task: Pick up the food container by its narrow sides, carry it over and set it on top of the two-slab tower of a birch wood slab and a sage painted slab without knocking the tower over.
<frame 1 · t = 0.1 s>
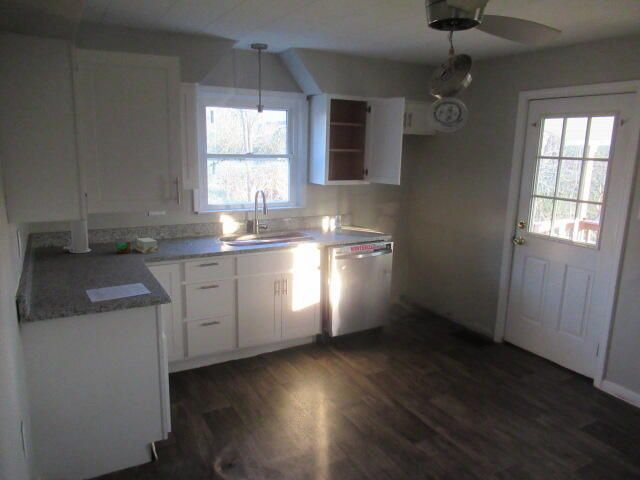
hand: (147, 202, 330), 31 cm above the worktop, tool pointing down, fingers open, 9 cm apart
top slab: (146, 245, 320), point 3 cm above the worktop, touching base slab
base slab: (146, 251, 321), on the worktop, touching top slab
food container: (121, 253, 309), on the worktop
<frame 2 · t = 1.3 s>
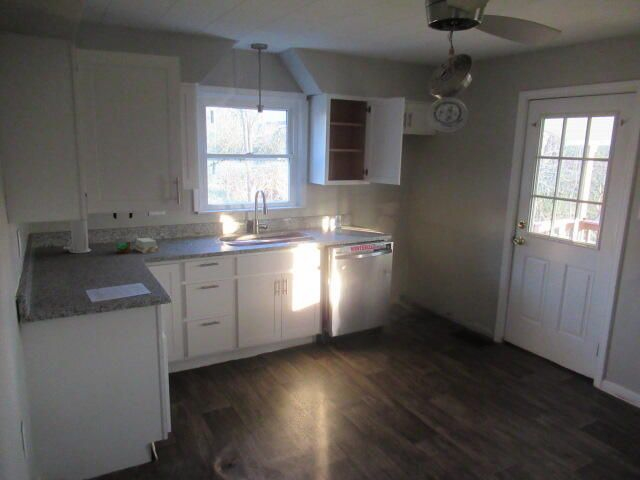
hand: (122, 218, 308), 23 cm above the worktop, tool pointing down, fingers open, 9 cm apart
top slab: (146, 245, 320), point 3 cm above the worktop
base slab: (146, 251, 321), on the worktop
everything else where it was.
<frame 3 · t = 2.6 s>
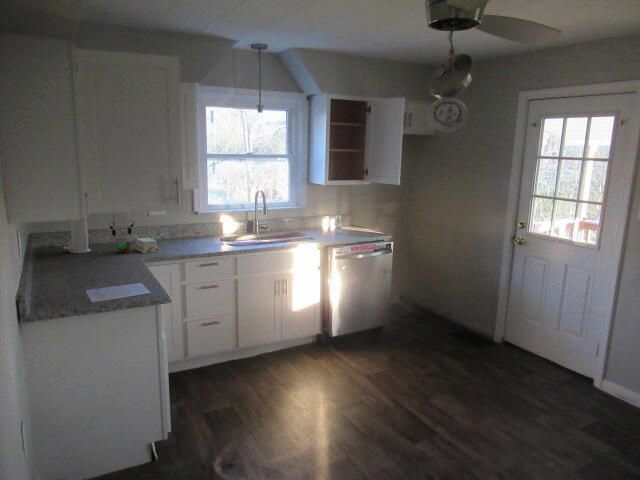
hand: (122, 235, 307), 12 cm above the worktop, tool pointing down, fingers open, 9 cm apart
top slab: (146, 245, 320), point 3 cm above the worktop, touching base slab
base slab: (146, 251, 321), on the worktop, touching top slab
everything else where it was.
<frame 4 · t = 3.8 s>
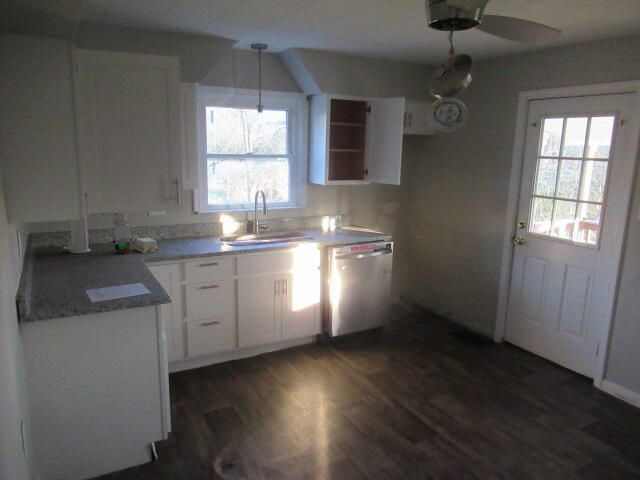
hand: (122, 249, 309), 2 cm above the worktop, tool pointing down, fingers closed on food container, 5 cm apart
food container: (120, 253, 309), on the worktop, touching gripper
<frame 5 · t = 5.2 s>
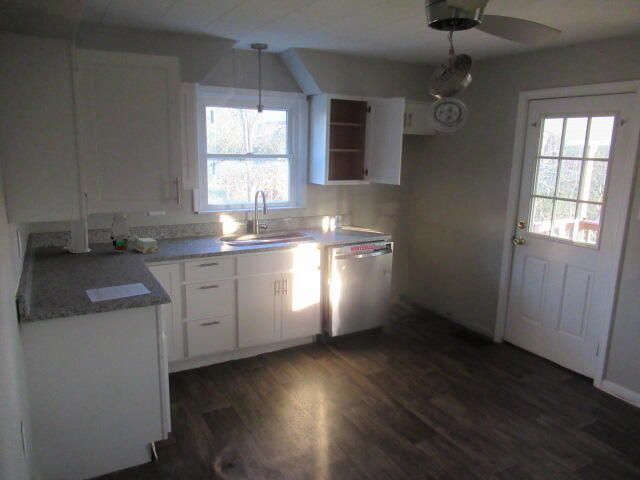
hand: (119, 245, 308), 5 cm above the worktop, tool pointing down, fingers closed on food container, 5 cm apart
top slab: (147, 245, 320), point 4 cm above the worktop
base slab: (146, 251, 321), on the worktop
food container: (118, 249, 309), point 2 cm above the worktop, touching gripper
when the fingers open (11 cm above the worktop, at t = 12.4 s): food container drops 1 cm, resting on top slab.
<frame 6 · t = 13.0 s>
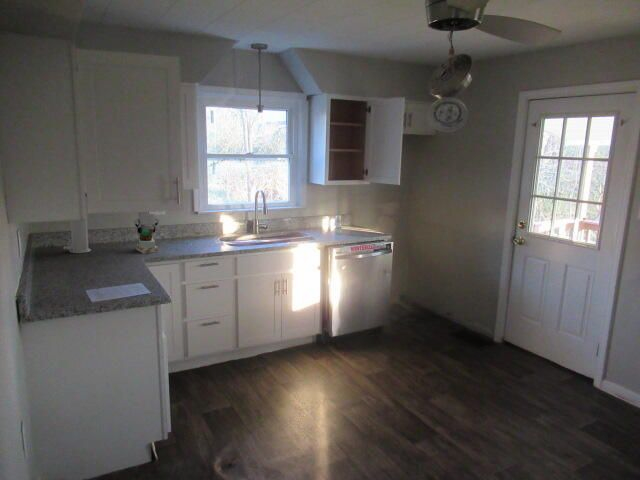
hand: (146, 232, 318), 12 cm above the worktop, tool pointing down, fingers open, 9 cm apart
top slab: (147, 245, 320), point 3 cm above the worktop, touching base slab, food container
base slab: (146, 251, 320), on the worktop, touching top slab
food container: (143, 239, 318), point 8 cm above the worktop, touching gripper, top slab
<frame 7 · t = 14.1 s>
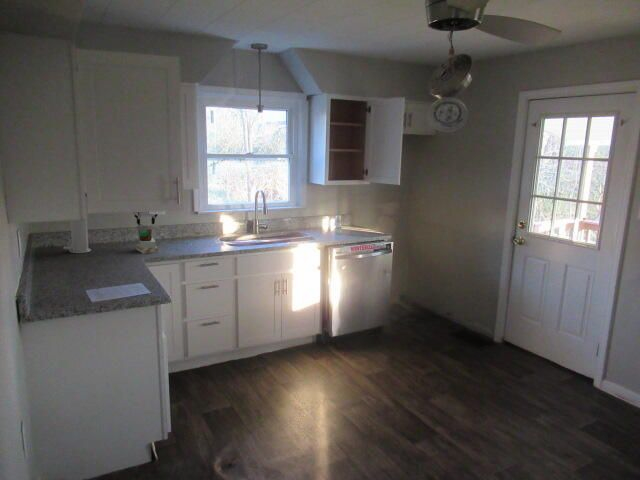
hand: (145, 224, 317), 18 cm above the worktop, tool pointing down, fingers open, 9 cm apart
food container: (143, 240, 317), point 7 cm above the worktop, touching top slab
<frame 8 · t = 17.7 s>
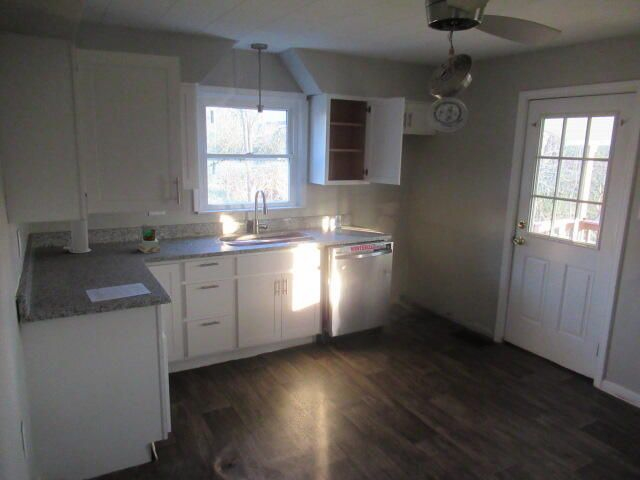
hand: (119, 202, 325), 30 cm above the worktop, tool pointing down, fingers open, 9 cm apart
top slab: (150, 245, 320), point 3 cm above the worktop, touching base slab, food container
base slab: (149, 251, 321), on the worktop, touching top slab
food container: (146, 240, 318), point 7 cm above the worktop, touching top slab
at the end: food container 1.8 cm off-centre on the base slab, point 7.8 cm above the base slab's base; top slab 0.8 cm off-centre on the base slab, point 4.0 cm above the base slab's base; food container tilted 1° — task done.
